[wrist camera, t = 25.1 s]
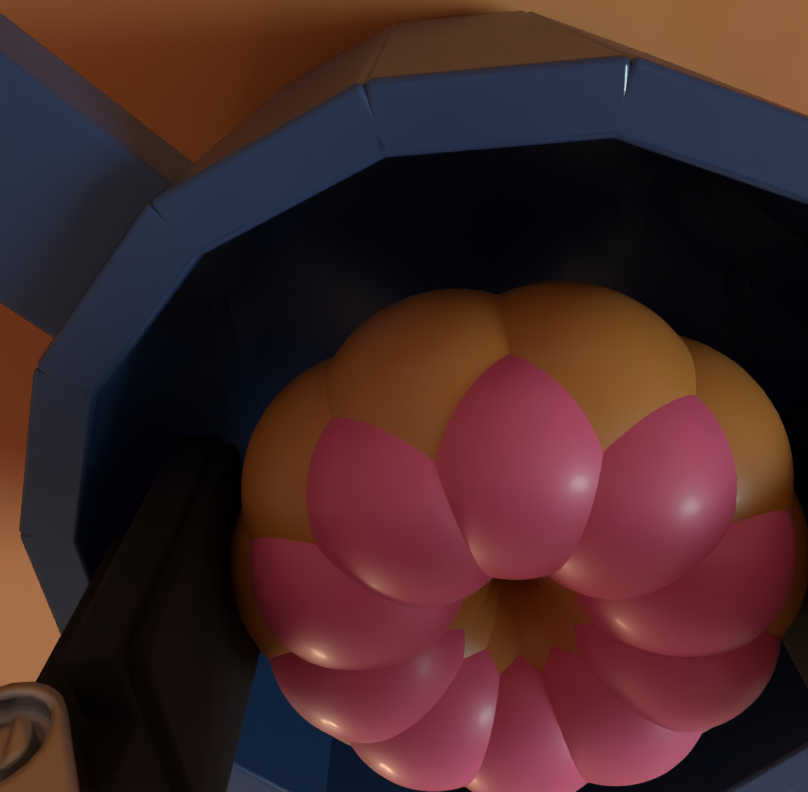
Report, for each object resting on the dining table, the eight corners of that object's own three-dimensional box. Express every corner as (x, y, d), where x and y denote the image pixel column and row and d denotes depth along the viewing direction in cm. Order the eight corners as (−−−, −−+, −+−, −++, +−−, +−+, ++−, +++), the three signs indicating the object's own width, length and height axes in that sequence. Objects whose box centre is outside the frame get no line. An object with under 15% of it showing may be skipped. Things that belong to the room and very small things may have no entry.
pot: (557, 645, 22) (625, 996, 14) (-8, 266, 17) (-355, 505, 9) (938, 360, 17) (1327, 657, 10) (321, -282, 12) (159, -674, 5)
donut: (295, 652, 13) (253, 872, 10) (211, 266, 10) (107, 410, 7) (722, 635, 13) (820, 859, 10) (785, 222, 10) (969, 355, 6)
